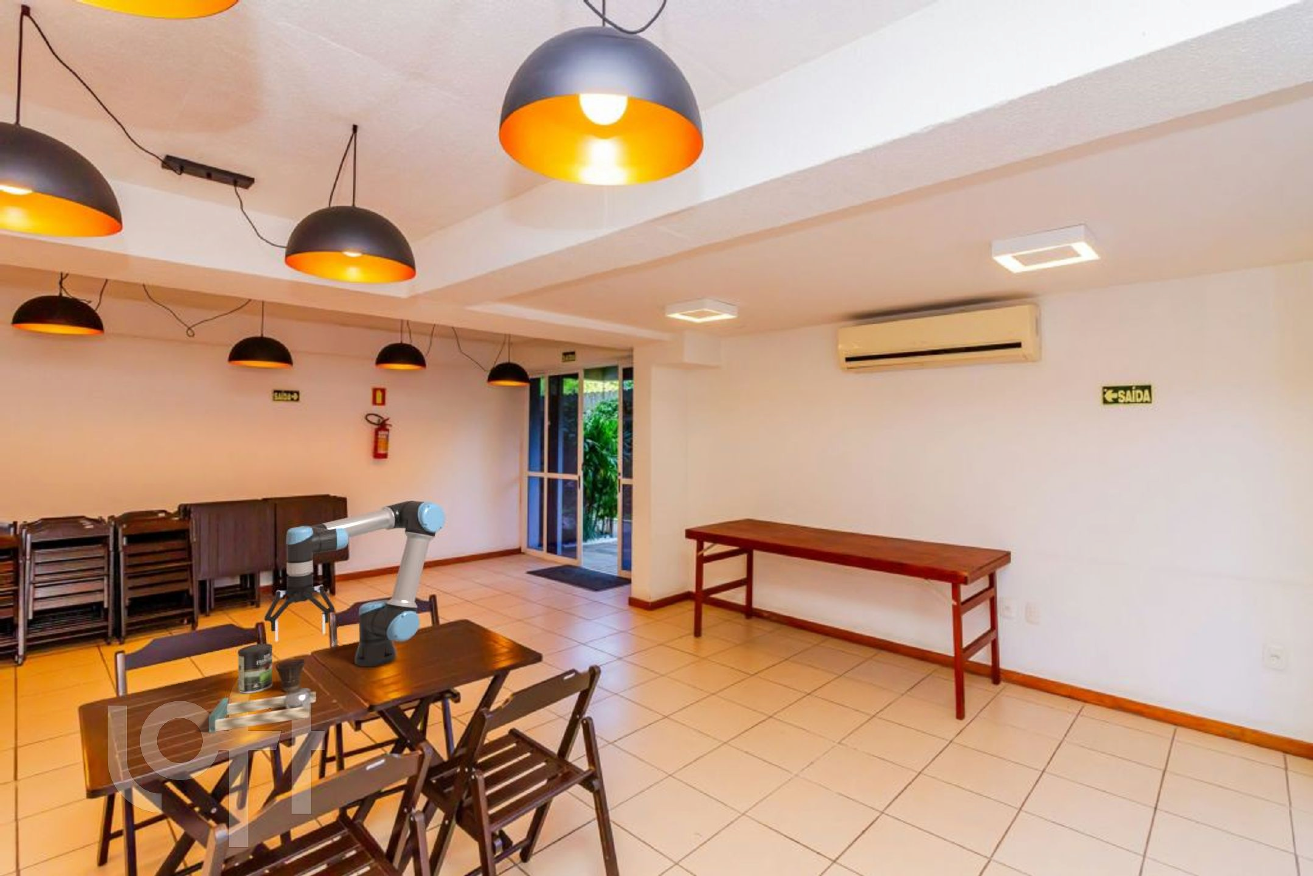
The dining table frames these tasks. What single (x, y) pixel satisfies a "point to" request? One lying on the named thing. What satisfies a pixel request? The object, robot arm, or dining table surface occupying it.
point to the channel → (224, 708)
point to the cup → (290, 673)
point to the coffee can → (255, 668)
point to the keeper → (298, 698)
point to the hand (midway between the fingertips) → (300, 636)
